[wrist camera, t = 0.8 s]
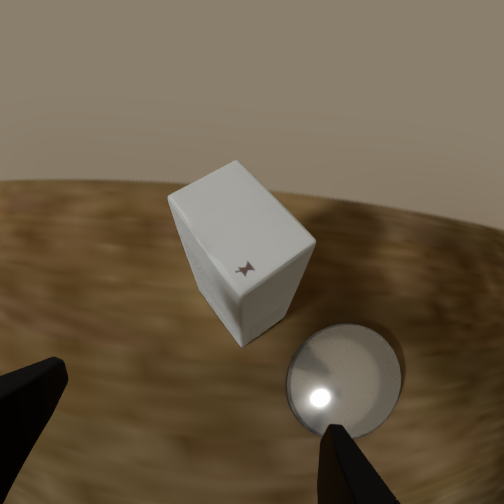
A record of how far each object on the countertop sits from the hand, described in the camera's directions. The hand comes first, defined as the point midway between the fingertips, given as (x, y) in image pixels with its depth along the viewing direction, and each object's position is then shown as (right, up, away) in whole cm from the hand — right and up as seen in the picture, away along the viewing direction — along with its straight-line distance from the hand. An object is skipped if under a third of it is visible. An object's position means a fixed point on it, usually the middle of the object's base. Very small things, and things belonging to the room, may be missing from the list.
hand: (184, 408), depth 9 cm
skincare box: (+1, +1, +16) cm, 16 cm away
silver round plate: (+9, -5, +13) cm, 16 cm away
